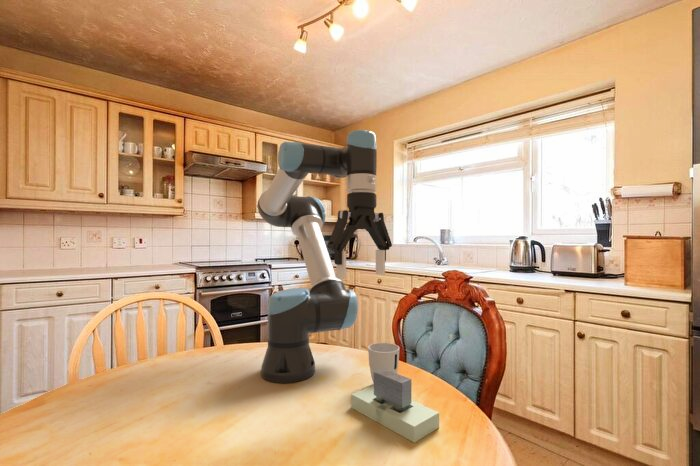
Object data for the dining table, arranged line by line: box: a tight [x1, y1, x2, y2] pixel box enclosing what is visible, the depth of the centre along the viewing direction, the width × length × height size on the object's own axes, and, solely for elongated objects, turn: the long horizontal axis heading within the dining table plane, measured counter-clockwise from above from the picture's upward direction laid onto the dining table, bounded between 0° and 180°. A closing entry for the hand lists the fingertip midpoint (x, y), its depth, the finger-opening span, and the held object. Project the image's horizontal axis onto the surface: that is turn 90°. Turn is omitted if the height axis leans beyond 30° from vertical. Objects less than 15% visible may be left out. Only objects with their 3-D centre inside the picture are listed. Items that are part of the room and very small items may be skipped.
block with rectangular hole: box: [350, 384, 440, 443], centre depth 75 cm, size 18×8×3 cm, turn 41°
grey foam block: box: [373, 369, 412, 413], centre depth 74 cm, size 8×3×9 cm, turn 42°
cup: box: [367, 342, 400, 384], centre depth 90 cm, size 8×8×10 cm
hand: (361, 276), depth 88 cm, fingers open, 13 cm apart
